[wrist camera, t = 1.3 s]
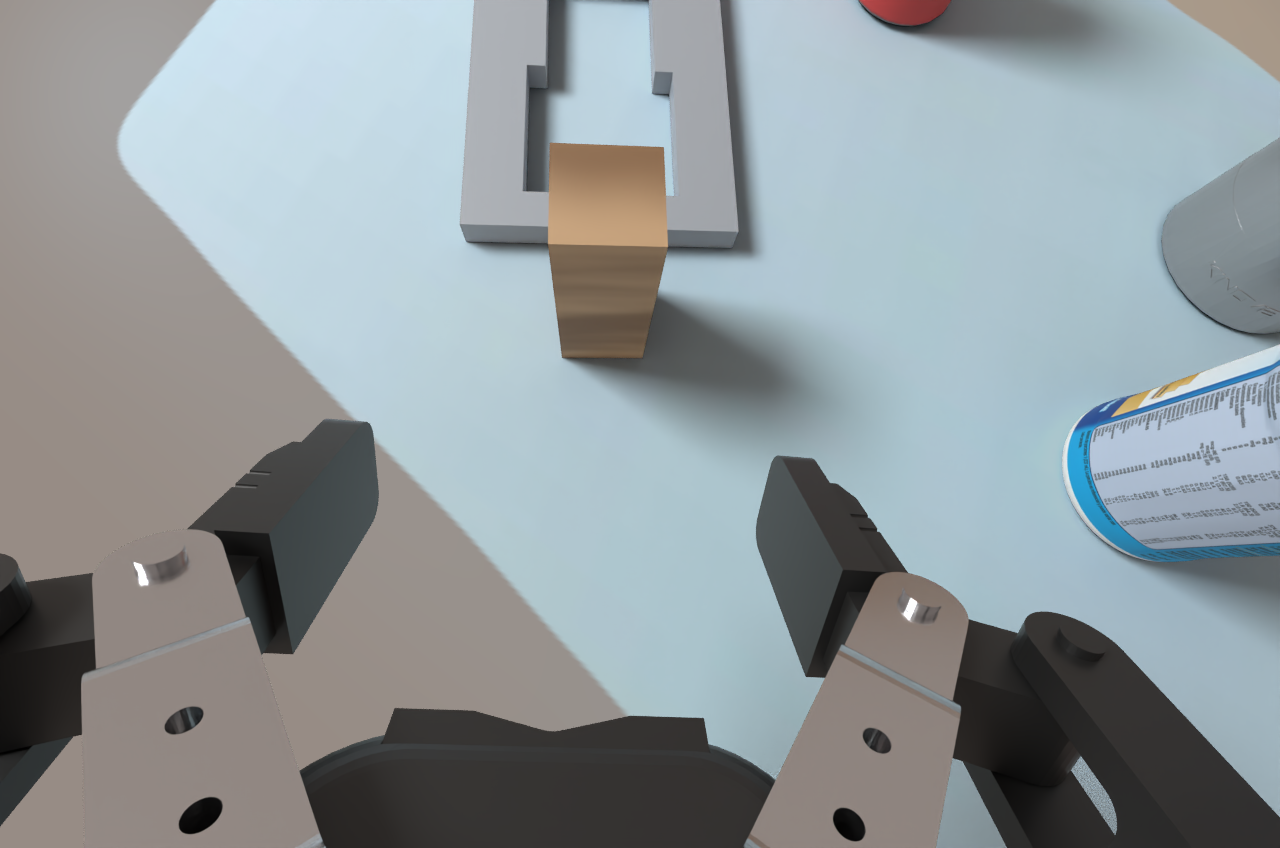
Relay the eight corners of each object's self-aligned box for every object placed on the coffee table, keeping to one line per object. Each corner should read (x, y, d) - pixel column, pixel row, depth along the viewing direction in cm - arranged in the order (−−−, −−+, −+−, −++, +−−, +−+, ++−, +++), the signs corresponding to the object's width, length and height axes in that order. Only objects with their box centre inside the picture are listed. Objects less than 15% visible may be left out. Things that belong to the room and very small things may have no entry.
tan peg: (642, 358, 29) (667, 246, 19) (562, 357, 29) (547, 243, 19) (640, 286, 30) (663, 147, 21) (562, 285, 30) (549, 142, 20)
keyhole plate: (731, 247, 31) (738, 231, 30) (466, 241, 30) (459, 224, 28) (710, -33, 36) (715, -58, 35) (483, -48, 35) (479, -75, 34)
